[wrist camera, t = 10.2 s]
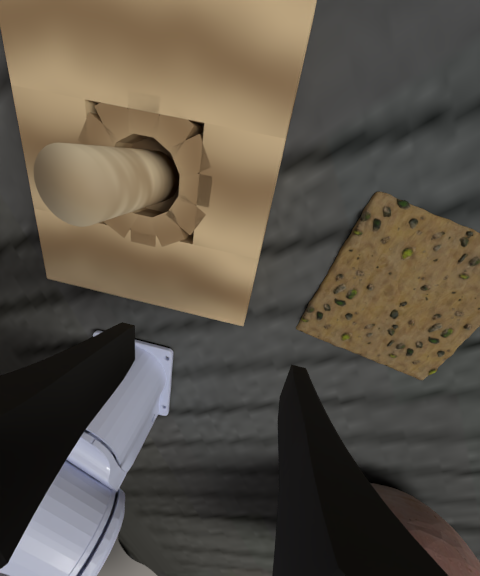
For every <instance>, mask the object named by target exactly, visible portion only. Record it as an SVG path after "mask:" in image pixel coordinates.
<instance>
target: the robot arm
mask: <svg viewBox="0 0 480 576" xmlns="http://www.w3.org/2000/svg"><path fill="white" fill-rule="evenodd" d="M166 356H167V357H166ZM168 357H169V358H168ZM172 365H173V351H172V350H171V349H170V348H166V347H162V346H158V345H155V344H151V343H147V342H143V341H139V340H135V326H134V325H130V324H126V323H120V324H118V325H116V326H114V327H112V328H110V329H108V330H106V331H104V332H103V331H99V330H97V331H96V332H94V334H93V337H92V338H90V339H88V340H86V341H84V342H82V343H80V344H78V345H76V346H74V347H71V348H69V349H67V350H65V351H63V352H60V353H58V354H56V355H54V356H52V357H49V358H47V359H45V360H42V361H40V362H37V363H35V364H32V365H30V366H27V367H24V368H22V369H19V370H16V371H13V372H11V373H8V374H4V375H1V376H0V576H97V574H98V573H99V571H100V569H101V568H102V566H103V564H104V562H105V561H106V559H107V557H108V555H109V553H110V551H111V549H112V547H113V545H114V543H115V540H116V538H117V536H118V533H119V531H120V528H121V525H122V521H123V517H124V511H125V493H124V491H123V490H121V489H120V486H121V484H122V482H123V480H124V478H125V476H126V473H127V472H128V471H129V469H130V468H131V466H132V465H133V463H134V461H135V459H136V457H137V455H138V453H139V451H140V449H141V447H142V445H143V443H144V441H145V439H146V437H147V435H148V433H149V431H150V429H151V427H152V425H153V423H154V421H155V419H156V417H157V415H158V414H159V415H163V416H166V415H168V412H169V404H170V391H171V378H172ZM278 453H279V495H278V511H277V526H276V539H275V552H274V564H273V576H448V574H447V573H446V572H445V571H444V570H443V569H442V568H441V567H440V566H439V565H438V563H437V562H436V561H435V560H434V559H433V558H432V557H431V556H430V555H429V554H428V552H427V551H426V550H425V549H424V548H423V547H422V546H421V545H420V544H419V543H418V541H417V540H416V539H415V538H414V537H413V536H412V535H411V534H410V532H409V531H408V530H407V529H406V528H405V526H404V525H403V524H402V523H401V522H400V520H399V519H398V518H397V517H396V516H395V514H394V513H393V512H392V511H391V510H390V508H389V507H388V506H387V505H386V503H385V502H384V501H383V499H382V498H381V497H380V495H379V494H378V493H377V491H376V490H375V489H374V487H373V486H372V485H371V484H370V482H369V481H368V480H367V478H366V477H365V475H364V474H363V473H362V471H361V470H360V468H359V467H358V465H357V464H356V462H355V461H354V459H353V458H352V456H351V455H350V453H349V452H348V450H347V449H346V447H345V445H344V444H343V442H342V440H341V439H340V437H339V435H338V433H337V432H336V430H335V428H334V426H333V425H332V423H331V421H330V419H329V417H328V415H327V413H326V411H325V409H324V407H323V405H322V403H321V401H320V399H319V397H318V395H317V393H316V391H315V388H314V386H313V384H312V381H311V379H310V377H309V374H308V372H307V370H306V368H302V367H298V366H294V365H291V368H290V370H289V373H288V376H287V379H286V382H285V384H284V387H283V390H282V393H281V395H280V401H279V412H278Z"/></svg>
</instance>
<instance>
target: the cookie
mask: <svg viewBox="0 0 480 576" xmlns="http://www.w3.org/2000/svg"><path fill="white" fill-rule="evenodd" d="M479 326H480V233H478V232H476V231H475V230H473V229H470V228H468V227H465V226H461V225H459V224H457V223H455V222H453V221H451V220H449V219H445V218H442V217H439V216H436V215H433V214H431V213H430V212H427V211H426V210H424V209H421V208H419V207H416V206H413V205H411V204H409V203H408V202H407V201H405V200H404V201H402V200H399V199H396V198H395V197H393V196H391V195H390V194H387V193H384V192H376V193H375V194H374V195H373V196H372V198H371V199H370V201H369V203H368V204H367V205H366V207H365V208H364V210H363V212H362V214H361V217H360V218H359V220H358V221H357V223H356V225H355V226H354V228H353V230H352V232H351V234H350V236H349V238H348V239H347V240H346V241H345V243H344V245H343V246H342V248H341V249H340V251H339V254H338V256H337V257H336V259H335V262H334V263H333V265H332V266H331V268H330V270H329V271H328V274H327V276H326V277H325V279H324V280H323V282H322V283H321V285H320V287H319V289H318V291H317V292H316V293H315V295H314V297H313V299H312V300H311V301H310V302H309V304H308V307H307V309H306V311H305V313H304V314H303V316H302V318H301V320H300V322H299V324H298V325H297V326H296V329H297V330H300V331H301V332H304V333H306V334H309V335H311V336H313V337H316V338H318V339H321V340H323V341H326V342H329V343H331V344H332V345H334V346H337V347H341V348H344V349H346V350H349V351H351V352H353V353H356V354H359V355H361V356H363V357H366V358H368V359H371V360H374V361H376V362H377V363H380V364H384V365H386V366H389V367H391V368H393V369H395V370H397V371H400V372H403V373H405V374H408V375H410V376H413V377H415V378H417V379H419V380H423V379H424V378H425V377H427V376H429V375H431V374H433V373H435V372H436V371H437V370H438V367H439V366H440V365H441V364H442V363H443V362H444V361H445V360H446V359H447V358H449V357H450V356H452V354H453V353H454V352H455V350H456V349H457V348H458V347H459V346H460V345H461V344H462V343H463V342H464V340H466V339H467V338H469V336H470V335H471V334H472V333H473V332H474V331H475V330H476V329H477V328H478V327H479Z"/></svg>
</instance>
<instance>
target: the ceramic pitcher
mask: <svg viewBox="0 0 480 576" xmlns="http://www.w3.org/2000/svg"><path fill="white" fill-rule="evenodd" d="M370 484H371V485H372V486H373V487H374V489H375V490H376V491H377V493H378V494H379V495H380V497H381V498H382V499H383V501H384V502H385V503H386V505H387V506H388V507H389V508H390V510H391V511H392V512H393V513H394V514H395V516H396V517H397V518H398V519H399V520H400V522H401V523H402V524H403V525H404V526H405V528H406V529H407V530H408V531H409V532H410V534H411V535H412V536H413V537H414V538H415V539H416V540H417V541H418V543H419V544H420V545H421V546H422V547H423V548H424V549H425V550H426V551H427V552H428V554H429V555H430V556H431V557H432V558H433V559H434V560H435V561H436V562H437V563H438V565H439V566H440V567H441V568H442V569H443V570H444V571H445V572H446V573H447V574H448V576H480V562H479V561H478V559H477V558H476V556H475V555H474V554H473V552H472V551H471V549H470V548H469V547H468V545H467V544H466V543H465V542H464V540H463V539H462V538H461V537H460V536H459V534H458V533H457V532H456V531H455V530H454V529H453V528H452V527H451V526H450V525H449V524H448V523H447V522H446V521H445V520H444V519H443V518H441V517H440V516H439V515H438V514H437V513H436V512H434V511H433V510H432V509H431V508H429V507H428V506H427V505H425V504H424V503H422V502H420V501H419V500H417V499H416V498H414V497H413V496H411V495H409V494H407V493H405V492H402V491H400V490H398V489H395V488H392V487H388V486H383V485H379V484H374V483H370Z"/></svg>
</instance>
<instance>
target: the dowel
mask: <svg viewBox="0 0 480 576" xmlns="http://www.w3.org/2000/svg"><path fill="white" fill-rule="evenodd" d="M179 179H180V178H179V172H178V169H177V167H176V164H175V163H174V161H173V160H172V159H171V158H170V157H169V156H168V155H167V154H165V153H163V152H161V151H157V150H146V149H134V148H121V147H109V146H96V145H83V144H71V143H52V144H49V145H47V146H45V147H44V148H43V149H42V150H41V151H40V152H39V153H38V155H37V157H36V160H35V163H34V180H35V184H36V188H37V190H38V193H39V195H40V197H41V199H42V200H43V202H44V203H45V205H46V206H47V207H48V209H49V210H50V211H51V212H52V213H53V214H54V215H55V216H57V217H58V218H59V219H61V220H62V221H64V222H66V223H68V224H71V225H74V226H79V227H86V226H90V225H93V224H96V223H99V222H102V221H105V220H108V219H111V218H114V217H118V216H121V215H124V214H127V213H130V212H133V211H136V210H139V209H142V208H145V207H148V206H151V205H154V204H157V203H160V202H163V201H166V200H168V199H170V198H172V197H173V196H174V195H175V193H176V192H177V190H178V187H179Z"/></svg>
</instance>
